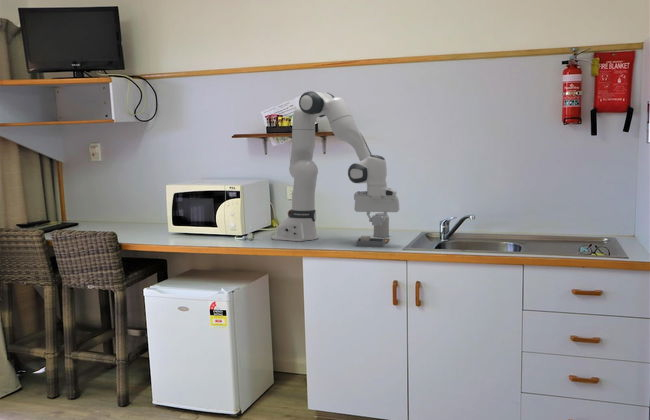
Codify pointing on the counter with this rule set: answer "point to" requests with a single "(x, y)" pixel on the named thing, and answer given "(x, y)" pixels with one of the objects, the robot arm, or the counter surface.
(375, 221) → the stone
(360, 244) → the bin
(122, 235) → the counter surface
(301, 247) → the counter surface
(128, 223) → the counter surface
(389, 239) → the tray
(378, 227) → the can
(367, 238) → the stone
